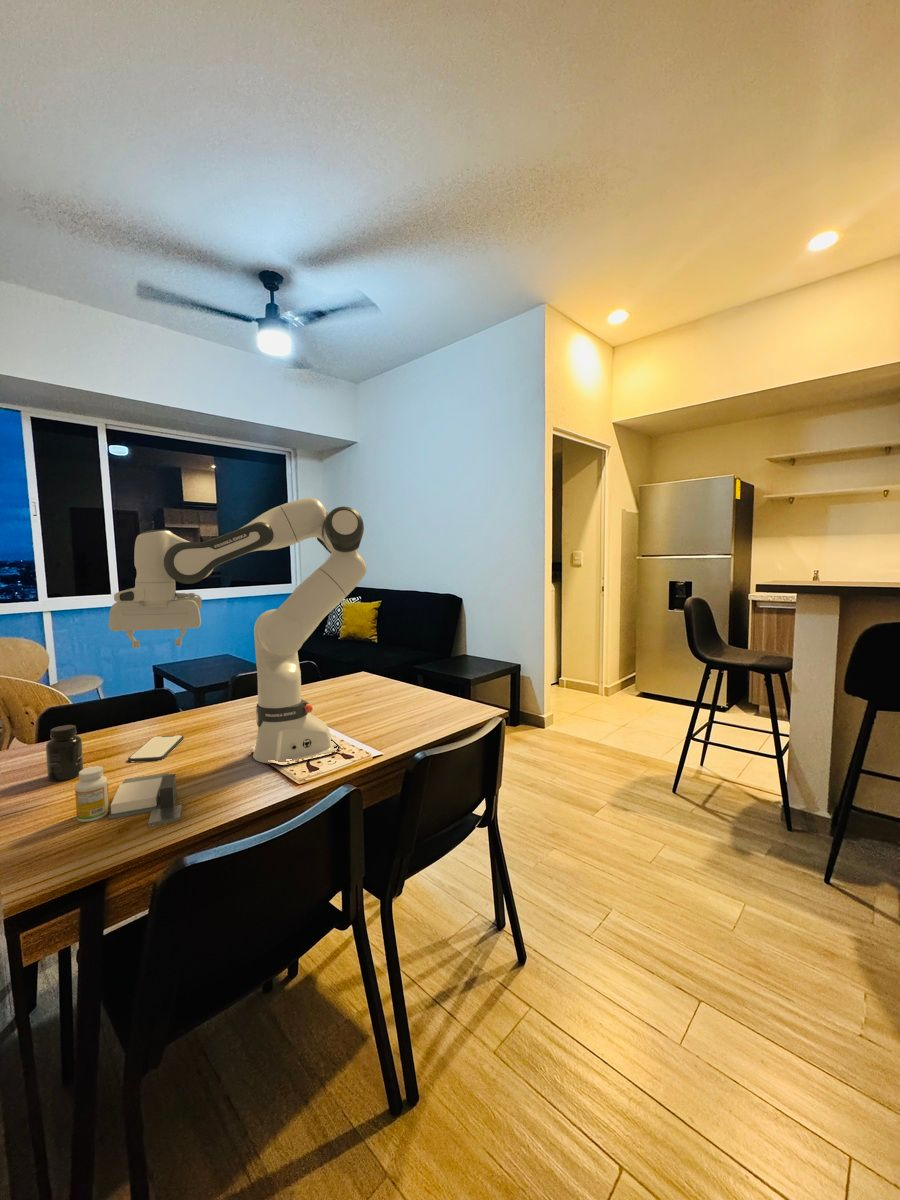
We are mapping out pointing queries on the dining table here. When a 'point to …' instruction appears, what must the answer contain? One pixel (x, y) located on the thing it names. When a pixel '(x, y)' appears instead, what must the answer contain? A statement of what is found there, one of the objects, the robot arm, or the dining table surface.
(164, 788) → the grey post on base
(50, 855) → the dining table surface
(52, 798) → the dining table surface
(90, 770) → the supplement bottle
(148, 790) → the tile
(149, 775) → the mat
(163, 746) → the phone case
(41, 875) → the dining table surface
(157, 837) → the dining table surface
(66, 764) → the supplement bottle
